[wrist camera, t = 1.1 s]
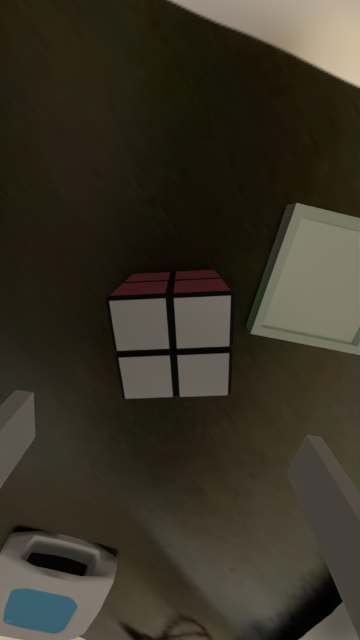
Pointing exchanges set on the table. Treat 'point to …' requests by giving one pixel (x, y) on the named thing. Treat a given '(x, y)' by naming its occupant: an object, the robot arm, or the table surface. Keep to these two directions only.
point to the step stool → (51, 587)
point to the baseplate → (312, 281)
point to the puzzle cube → (173, 334)
